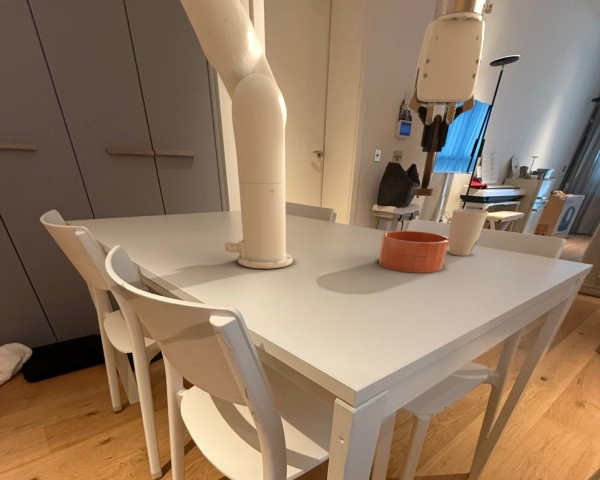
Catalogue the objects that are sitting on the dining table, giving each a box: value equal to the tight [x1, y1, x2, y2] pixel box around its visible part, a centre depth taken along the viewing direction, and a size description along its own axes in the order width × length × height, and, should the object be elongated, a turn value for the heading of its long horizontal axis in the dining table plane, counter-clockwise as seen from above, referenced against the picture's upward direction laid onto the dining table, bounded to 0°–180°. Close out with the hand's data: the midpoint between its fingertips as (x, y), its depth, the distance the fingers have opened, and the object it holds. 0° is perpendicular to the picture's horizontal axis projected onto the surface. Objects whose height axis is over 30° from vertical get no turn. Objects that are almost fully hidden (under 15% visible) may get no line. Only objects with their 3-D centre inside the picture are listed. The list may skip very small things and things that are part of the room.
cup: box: [448, 208, 489, 257], centre depth 86 cm, size 8×8×10 cm
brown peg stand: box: [411, 114, 443, 197], centre depth 66 cm, size 5×5×13 cm
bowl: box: [378, 230, 449, 274], centre depth 77 cm, size 14×14×6 cm
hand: (431, 151), depth 65 cm, fingers closed on brown peg stand
